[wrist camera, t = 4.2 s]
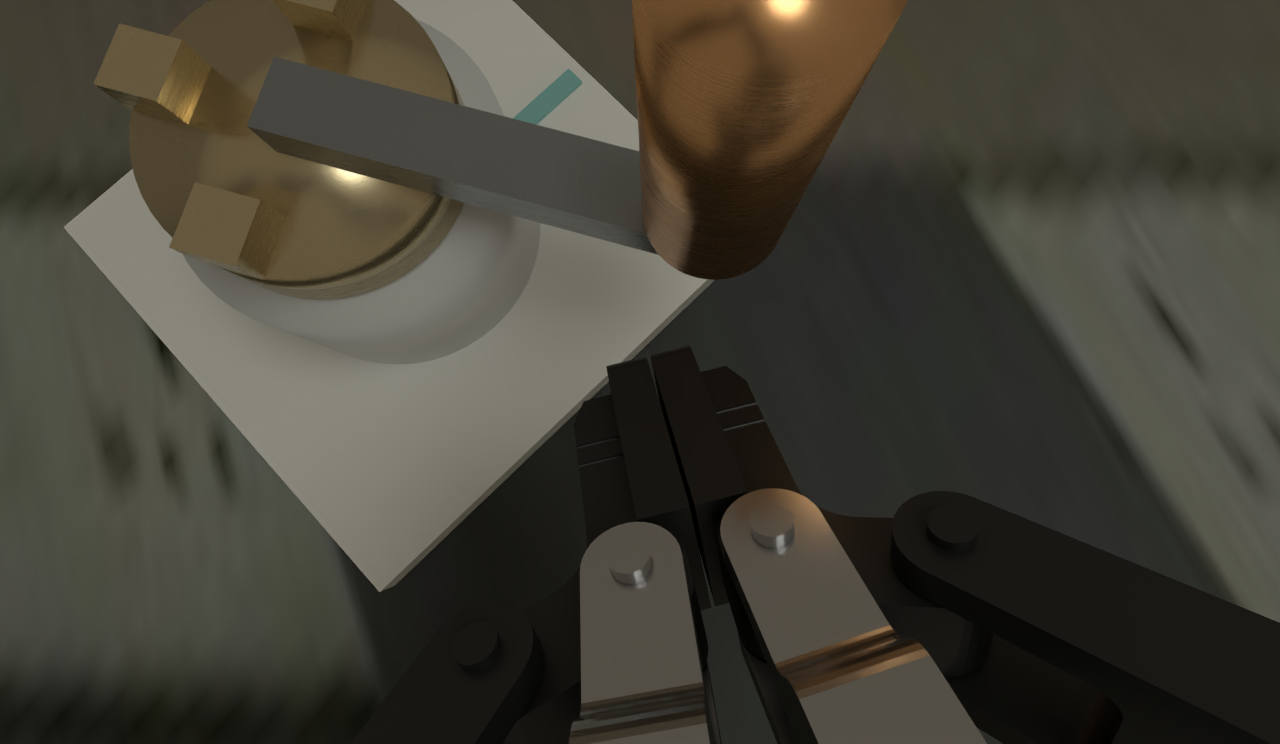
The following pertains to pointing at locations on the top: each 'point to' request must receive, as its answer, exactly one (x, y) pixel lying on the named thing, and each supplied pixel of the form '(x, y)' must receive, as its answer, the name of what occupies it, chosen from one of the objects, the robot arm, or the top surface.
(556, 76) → the cylinder on square plate
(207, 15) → the lever-handled chuck
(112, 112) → the top surface
